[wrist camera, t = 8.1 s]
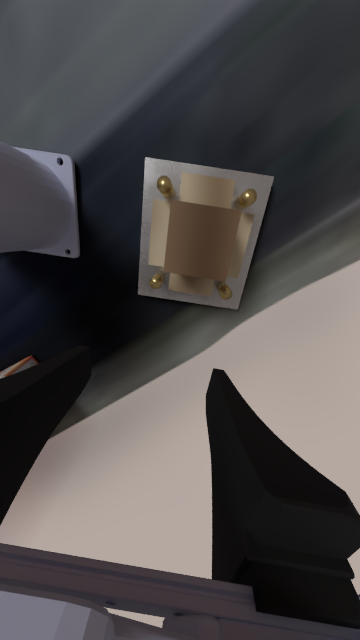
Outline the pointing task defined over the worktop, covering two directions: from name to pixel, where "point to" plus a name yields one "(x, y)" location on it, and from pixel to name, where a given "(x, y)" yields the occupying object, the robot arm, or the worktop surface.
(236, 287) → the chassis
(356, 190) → the worktop surface
